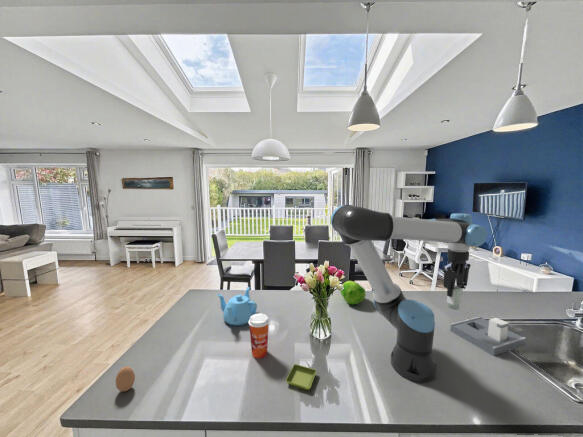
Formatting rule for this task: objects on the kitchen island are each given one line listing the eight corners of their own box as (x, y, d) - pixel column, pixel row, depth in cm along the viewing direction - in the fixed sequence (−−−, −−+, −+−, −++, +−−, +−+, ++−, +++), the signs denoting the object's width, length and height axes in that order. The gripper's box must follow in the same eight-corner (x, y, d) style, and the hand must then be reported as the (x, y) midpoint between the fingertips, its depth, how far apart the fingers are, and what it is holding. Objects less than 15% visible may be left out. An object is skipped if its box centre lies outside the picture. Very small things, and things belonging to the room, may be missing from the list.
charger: (498, 347, 99) (501, 325, 98) (486, 341, 104) (489, 319, 102) (506, 345, 101) (508, 323, 100) (493, 339, 105) (496, 317, 104)
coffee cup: (250, 362, 91) (249, 325, 89) (248, 348, 99) (247, 314, 97) (271, 358, 93) (271, 322, 91) (268, 345, 101) (267, 311, 99)
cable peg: (445, 306, 105) (447, 285, 104) (452, 304, 107) (454, 284, 106) (454, 310, 102) (456, 288, 101) (461, 308, 103) (463, 287, 102)
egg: (137, 389, 79) (136, 367, 78) (119, 399, 75) (116, 376, 74) (133, 380, 82) (131, 359, 81) (114, 390, 78) (112, 368, 77)
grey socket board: (493, 355, 95) (494, 347, 94) (450, 330, 111) (450, 323, 111) (525, 345, 101) (526, 337, 101) (479, 322, 118) (480, 316, 118)
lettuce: (359, 293, 152) (359, 274, 150) (367, 308, 132) (368, 288, 131) (337, 292, 153) (337, 274, 151) (342, 308, 133) (342, 287, 131)
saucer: (294, 368, 88) (294, 363, 88) (317, 375, 85) (317, 369, 85) (285, 386, 80) (285, 380, 80) (309, 394, 77) (310, 388, 77)
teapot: (216, 316, 124) (215, 293, 123) (249, 306, 135) (249, 285, 133) (227, 332, 110) (226, 307, 109) (263, 320, 120) (263, 297, 119)
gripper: (452, 253, 95) (448, 309, 98) (481, 250, 100) (476, 303, 103) (435, 249, 102) (431, 301, 105) (463, 246, 107) (458, 296, 110)
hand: (453, 302), depth 104 cm, fingers closed on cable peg, 3 cm apart
